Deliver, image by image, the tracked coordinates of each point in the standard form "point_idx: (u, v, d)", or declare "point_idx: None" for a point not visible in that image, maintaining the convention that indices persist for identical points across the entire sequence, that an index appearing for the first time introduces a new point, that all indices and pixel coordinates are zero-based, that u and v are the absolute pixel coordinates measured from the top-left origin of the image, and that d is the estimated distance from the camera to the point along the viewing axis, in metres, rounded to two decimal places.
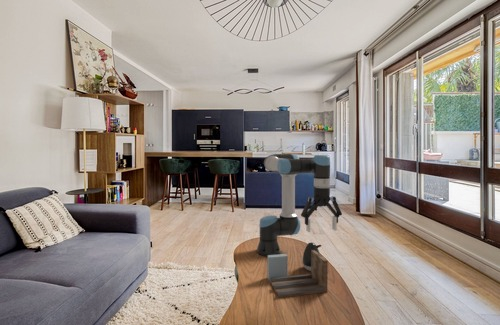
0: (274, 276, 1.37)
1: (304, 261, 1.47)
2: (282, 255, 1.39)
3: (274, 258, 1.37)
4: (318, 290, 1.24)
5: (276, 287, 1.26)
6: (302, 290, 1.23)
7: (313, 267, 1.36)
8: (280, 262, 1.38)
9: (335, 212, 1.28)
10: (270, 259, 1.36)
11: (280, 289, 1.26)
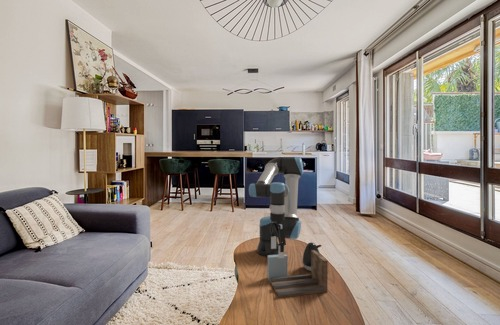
0: (274, 276, 1.37)
1: (304, 261, 1.47)
2: None
3: (274, 258, 1.37)
4: (318, 290, 1.24)
5: (276, 287, 1.26)
6: (302, 290, 1.23)
7: (313, 267, 1.36)
8: (280, 262, 1.38)
9: None
10: (270, 259, 1.36)
11: (280, 289, 1.26)
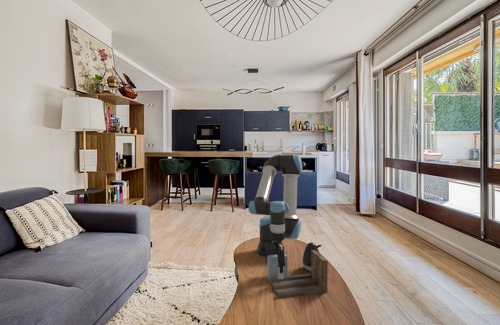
0: (274, 276, 1.37)
1: (304, 261, 1.47)
2: None
3: (274, 258, 1.37)
4: (318, 290, 1.24)
5: (276, 287, 1.26)
6: (302, 290, 1.23)
7: (313, 267, 1.36)
8: None
9: (278, 261, 1.33)
10: (270, 259, 1.36)
11: (280, 289, 1.26)
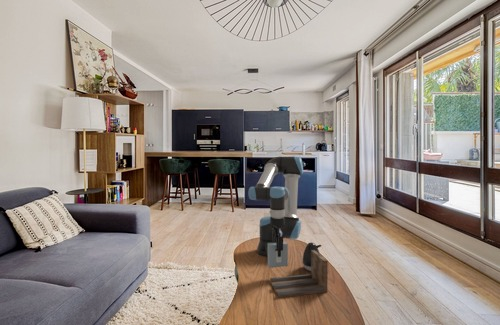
0: (274, 263, 1.38)
1: (304, 261, 1.47)
2: None
3: (274, 246, 1.37)
4: (318, 290, 1.24)
5: (276, 287, 1.26)
6: (302, 290, 1.23)
7: (313, 267, 1.36)
8: None
9: (276, 245, 1.36)
10: (270, 247, 1.37)
11: (280, 289, 1.26)
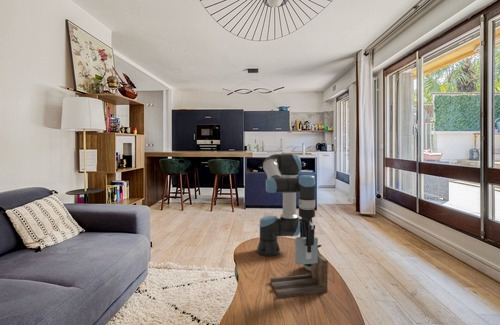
0: (303, 260, 1.24)
1: None
2: None
3: (303, 240, 1.24)
4: (318, 290, 1.24)
5: (276, 287, 1.26)
6: (302, 290, 1.23)
7: (313, 267, 1.36)
8: None
9: (306, 240, 1.23)
10: (299, 241, 1.23)
11: (280, 289, 1.26)
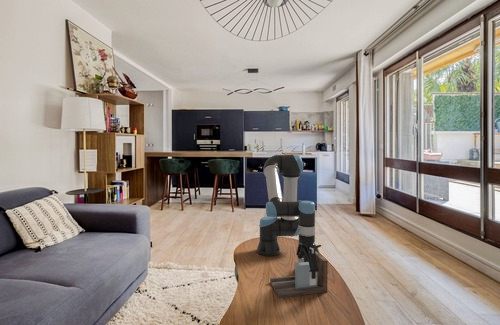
0: (303, 286, 1.25)
1: (304, 261, 1.47)
2: None
3: (303, 266, 1.24)
4: (318, 290, 1.24)
5: (276, 287, 1.26)
6: (302, 290, 1.23)
7: None
8: None
9: (310, 265, 1.20)
10: (299, 267, 1.24)
11: (280, 289, 1.26)
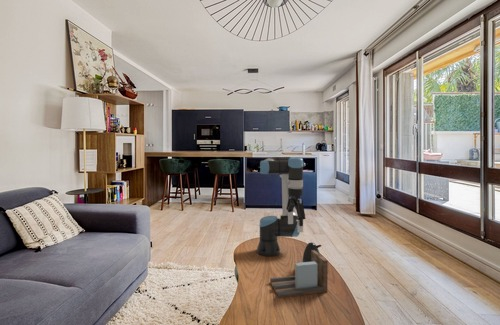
0: (303, 286, 1.25)
1: (304, 261, 1.47)
2: (311, 263, 1.27)
3: (303, 266, 1.24)
4: (318, 290, 1.24)
5: (276, 287, 1.26)
6: (302, 290, 1.23)
7: None
8: (310, 271, 1.25)
9: (298, 214, 1.32)
10: (299, 267, 1.24)
11: (280, 289, 1.26)
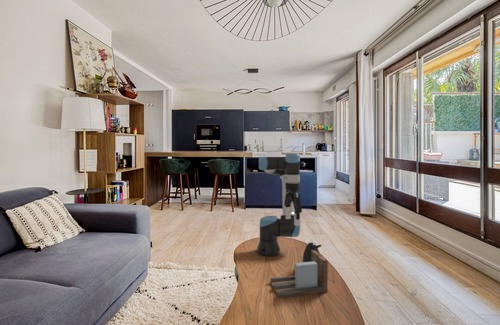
0: (303, 286, 1.25)
1: (304, 261, 1.47)
2: (311, 263, 1.27)
3: (303, 266, 1.24)
4: (318, 290, 1.24)
5: (276, 287, 1.26)
6: (302, 290, 1.23)
7: None
8: (310, 271, 1.25)
9: (294, 208, 1.35)
10: (299, 267, 1.24)
11: (280, 289, 1.26)
